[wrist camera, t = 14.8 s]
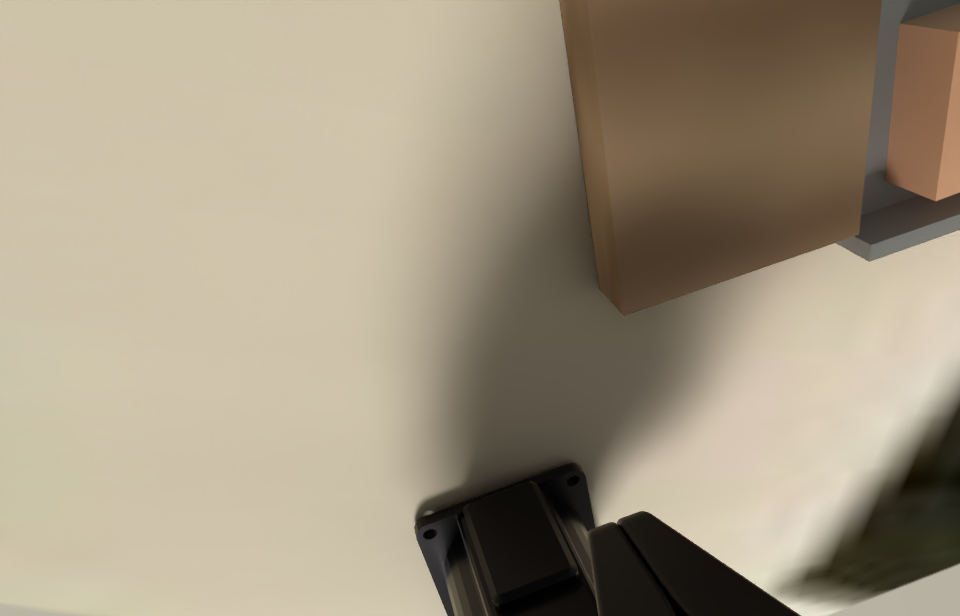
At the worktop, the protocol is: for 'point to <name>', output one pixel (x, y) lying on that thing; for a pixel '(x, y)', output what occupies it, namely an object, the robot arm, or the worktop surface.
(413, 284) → the worktop surface
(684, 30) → the walnut step
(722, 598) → the robot arm
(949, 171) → the terracotta tile
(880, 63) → the grey tray
